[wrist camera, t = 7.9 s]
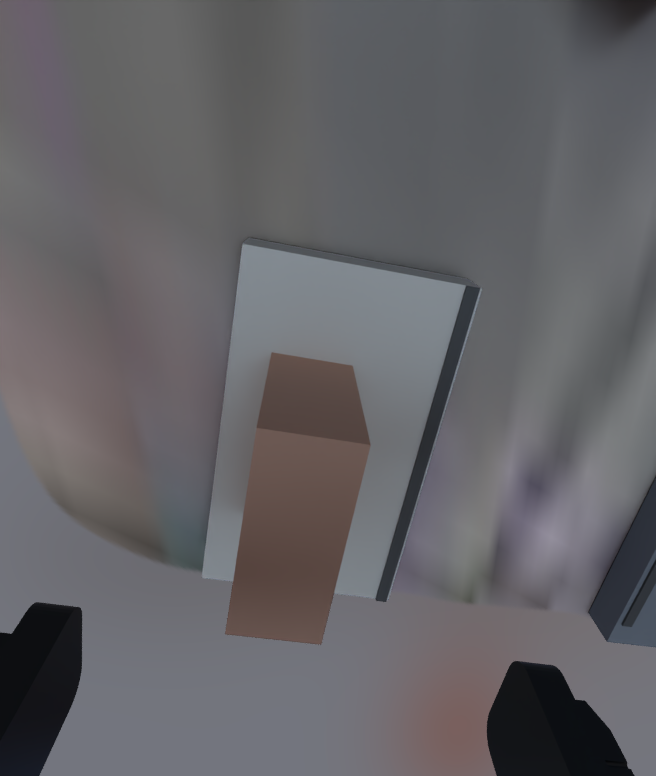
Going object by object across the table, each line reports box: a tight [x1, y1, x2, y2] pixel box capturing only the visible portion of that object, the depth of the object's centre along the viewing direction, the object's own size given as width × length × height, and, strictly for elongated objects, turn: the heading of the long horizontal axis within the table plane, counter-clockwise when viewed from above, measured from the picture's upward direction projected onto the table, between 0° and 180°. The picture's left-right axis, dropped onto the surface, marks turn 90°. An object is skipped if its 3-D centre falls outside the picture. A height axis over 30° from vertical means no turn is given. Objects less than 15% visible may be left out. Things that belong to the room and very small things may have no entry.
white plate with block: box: [202, 237, 482, 645], centre depth 15 cm, size 7×12×6 cm, turn 169°
